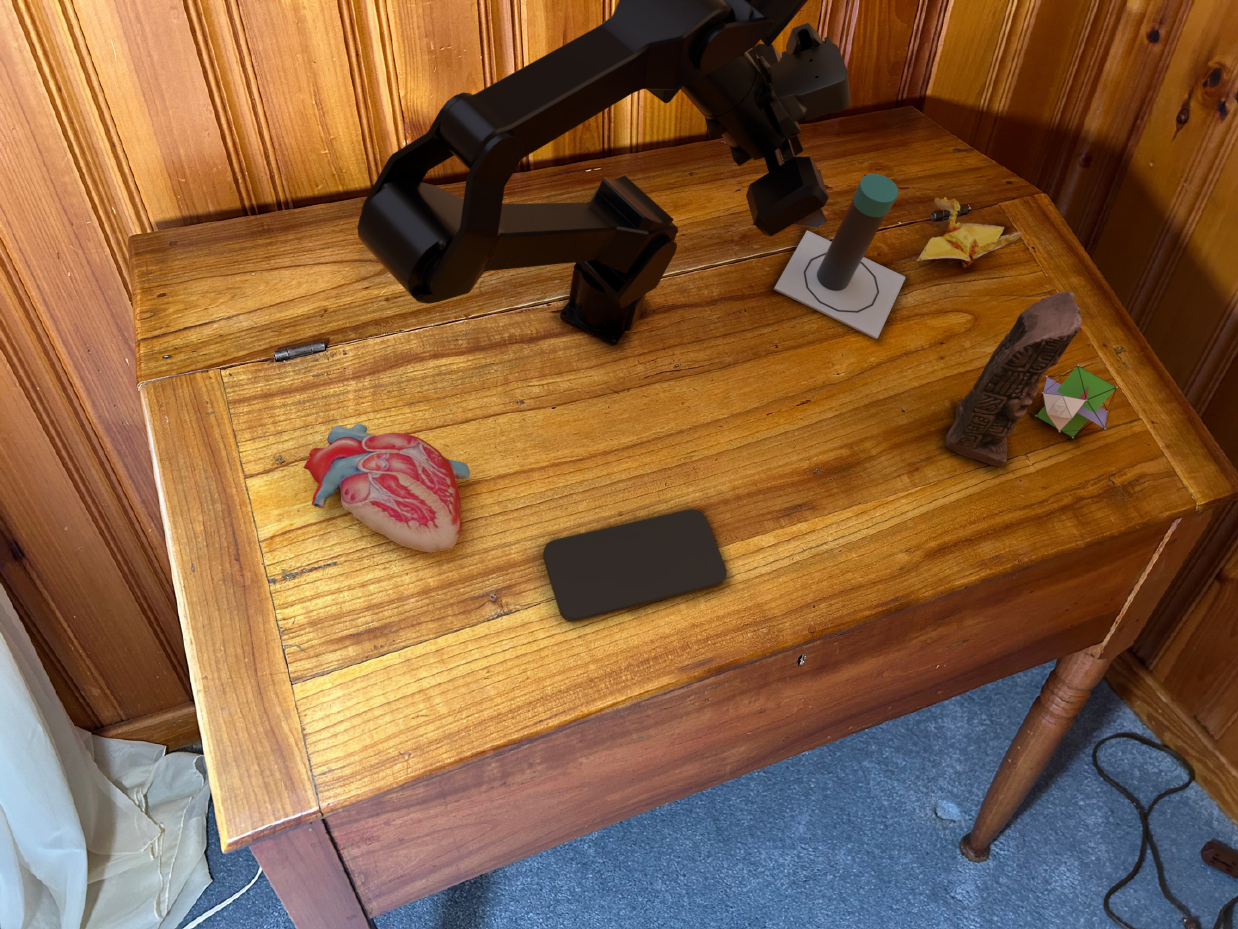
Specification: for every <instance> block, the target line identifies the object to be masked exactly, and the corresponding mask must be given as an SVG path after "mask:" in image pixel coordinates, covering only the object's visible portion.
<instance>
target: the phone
mask: <svg viewBox="0 0 1238 929" xmlns="http://www.w3.org/2000/svg"><path fill="white" fill-rule="evenodd" d="M542 557H543V562H544V565H545V569H546V573H547V575H548V578H549V582H550V585H551V589H552V593H553V596H554V598H555V601H556V605H557V608H558V611H559V613H560V615H561V617H562V618H563V619H565V620H566V621H569V622H579V621H583V620H588V619H591V618H595V617H599V616H603V615H607V614H610V613H615V612H619V611H623V610H627V609H633V608H635V607H640V606H643V605H648V604H652V603H655V602H659V601H664V600H667V599H671V598H676V597H679V596H683V595H687V594H690V593H695V592H699V591H703V590H707V589H711V588H714V587H718V586H719V585H721V584H722V583H724V581H725V579H726V578H727V575H728V574H727V572H728V571H727V567H726V565H725V561H724V560H723V556H722V554H721V552H720V550H719V546H718V544H717V542H716V540H715V536H714V534H713V532H712V529H711V526H710V524H709V522H708V519H707V517H706V516H705V514H704V513H703V512H702V511H700V510H698V509H686V510H680V511H676V512H672V513H667V514H664V515H663V514H662V515H658V516H653V517H650V518H645V519H641V520H637V521H632V522H627V523H623V524H618V525H614V526H610V527H606V528H601V529H600V528H599V529H597V530H596V529H595V530H592V531H588V532H584V533H578V534H574V535H570V536H564V537H561V538H560V537H559V538H556V539H553V540H550V541H549V542H547V543H546V544H545V545H544V547H543V552H542Z"/></svg>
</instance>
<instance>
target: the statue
mask: <svg viewBox="0 0 1238 929" xmlns="http://www.w3.org/2000/svg"><path fill="white" fill-rule="evenodd" d="M1075 300H1076V295H1075V293H1073V292H1071V291H1060V292H1059V291H1058V292H1057V293H1056V292H1055V293H1054V294H1052V295H1050V296H1047V297H1042V298H1041V299H1040V300H1039V301H1038V302H1034V303H1033V304H1032V305H1030V306H1029V307H1027V308H1026V309H1025V310H1023V311H1022V312H1021V313H1019V315H1018V317H1017V319H1016V321H1015V323H1014V324H1013V326H1012V328H1011V329H1010V330H1009V332H1007V333H1006V334H1005V335H1004V337H1003V339H1001V341H1000V343H999V344H998V345H997V347H996V348H995V349H994V350H993V352H992V354H991V356H990V357H989V359H988V361H987V362H986V364H985V366H984V368H983V370H982V372H981V374H980V375H979V376H978V378H977V380H976V381H975V383H974V384H973V387H972V389H971V390H969V391H968V393H967V394H966V395H964V398H963V399H961V400H959V401H957V404H956V409H955V412H954V413H955V421H954V423H953V424H952V426H951V427H950V429H949V431H948V432H947V434H946V436H945V437H944V440H945V448H947V449H949V450H950V451H952V452H954V453H956V454H958V455H961V456H964V457H966V458H969V459H973V460H977V461H979V462H982V463H984V464H988V465H990V466H993V467H1003V466H1005V464H1006V462H1007V459H1008V437H1010V436H1011V434H1012V433H1013V430H1014V429H1015V427H1016V425H1017V423H1018V421H1019V420H1020V419H1022V418H1023V417H1024V416H1025V415H1026V414H1027V410H1028V407H1029V406H1031V405H1032V404H1033V400H1034V398H1035V397H1036V396H1037V394H1038V393H1039V391H1040V385H1039V383H1041V380H1042V379H1043V378H1044V373H1045V374H1046V373H1047V372H1048V371H1049V369H1050V368H1052V367H1054V366H1056V365H1057V364H1058V363H1059V361H1060V359H1061V358H1062V356H1063V355H1064V354H1065V352H1066V350H1067V348H1068V347H1069V346H1070V344H1071V343H1072V341H1073V339H1074V338H1075V337H1077V335H1078V333H1079V332H1080V330H1081V329H1082V328H1081V326H1082V322H1083V318H1082V317H1081V315H1080V314H1081V309H1080V307H1079V306H1078V304H1077V303H1076V302H1075Z"/></svg>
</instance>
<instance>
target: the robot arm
mask: <svg viewBox="0 0 1238 929" xmlns="http://www.w3.org/2000/svg"><path fill="white" fill-rule="evenodd" d="M808 1H809V0H618V1H617V4H616V5H615V8H614V11H613V12H612V15H611V16H610V17H609V18H607V19H606V20H605V21H603V22H602V23H601V24H599V25H597V26H596V27H594V28H592V29H590V30H589V31H587V32H585V33H583V34H581V35H579V36H578V37H575V38H574V39H572V40H570V41H568V42H567V43H565V44H563V45H561V46H560V47H558V48H556V49H554V50H553V51H551V52H548V53H547V54H545V55H543V56H541V57H540V58H538V59H536V60H534V61H532V62H531V63H528V64H527V65H525V66H523V67H521V68H519V69H517V70H516V71H514V72H512V73H511V74H509V75H506V76H505V77H503V78H501V79H499V80H498V81H496V82H494V83H492V84H491V85H488V86H487V87H485V88H483V89H481V90H479V91H477V92H475V93H473V94H472V93H471V92H461V93H457V94H454V96H452V97H451V98H449V99H448V100H447V101H446V102H445V103H444V105H443V106H442V107H441V108H440V109H439V111H438V113H437V115H436V117H435V118H434V120H433V122H432V124H431V125H430V127H429V129H428V131H427V132H426V133H424V134H423V135H421V136H419V137H418V138H416V139H415V140H413V141H411V142H410V143H408V144H406V145H405V146H403V147H402V148H400V149H398V150H397V151H395V152H393V153H392V154H391V155H390V156H389V158H388V159H387V161H386V163H384V166H383V168H382V170H381V172H380V173H379V175H378V176H377V177H376V178H377V179H376V180H375V181H374V184H373V186H372V187H371V189H370V191H369V193H368V195H367V196H366V198H365V199H364V202H363V203H362V207H361V209H360V211H361V212H360V215H359V218H358V221H357V222H358V223H357V227H356V228H357V236H358V239H359V241H360V242H361V243H362V245H363V246H364V247H365V248H366V249H367V250H368V251H369V252H370V253H371V254H372V255H373V256H374V258H375V259H376V260H377V261H378V262H379V263H380V264H381V265H382V266H383V267H384V269H385V270H386V271H387V272H388V273H389V274H390V275H391V276H392V277H393V278H394V279H395V280H396V281H397V282H398V283H399V285H400V286H401V287H403V289H404V290H405V291H406V292H407V293H408V294H409V295H410V296H411V298H413V299H414V300H415V301H416V302H417V303H420V304H425V305H426V304H428V305H431V304H435V303H436V304H437V303H441V302H442V301H443V302H444V301H447V300H450V299H453V298H457V297H461V296H464V295H468V294H470V293H471V291H472V290H473V289H474V288H475V286H476V284H477V283H478V282H479V280H480V279H481V278H482V276H483V274H484V273H486V272H494V271H495V272H496V271H504V270H515V269H523V268H524V269H525V268H535V267H543V266H553V265H564V264H574V265H573V270H572V275H571V283H570V289H569V296H568V300H567V302H566V304H565V306H564V307H563V308H562V310H561V311H560V313H559V318H560V320H561V321H563V322H565V323H567V324H569V325H571V326H573V327H575V328H577V329H579V330H581V331H582V332H584V333H587V334H589V335H590V336H592V337H595V338H596V339H599V340H601V341H602V342H605V343H607V344H609V345H611V346H617V345H618V344H619V343H620V341H621V340H622V338H623V337H624V335H625V334H626V333H628V332H631V331H632V329H633V328H634V327H635V325H636V323H637V322H638V321H639V319H640V318H641V316H642V312H643V308H644V305H645V300H646V297H647V294H649V293H650V292H652V291H654V290H655V289H656V288H657V287H658V285H659V284H660V282H661V280H662V278H663V276H664V275H665V272H667V269H668V267H669V265H670V263H671V261H672V259H673V258H674V256H675V254H676V252H677V248H678V244H677V242H676V238H677V234H678V233H679V227H678V226H676V224H675V223H674V218H673V217H672V216H671V215H670V214H669V213H668V212H666V211H665V210H664V209H663V208H662V207H661V206H660V205H659V204H657V202H655V201H654V199H652V198H651V197H650V196H649V195H648V194H647V193H646V192H644V191H643V190H642V189H641V188H640V187H639V186H638V185H637V184H636V183H635V182H633V180H631V178H629V177H628V176H627V175H622V176H620V177H617V178H611V177H609V176H603V177H602V179H601V182H600V183H599V186H597V187H596V188H595V189H594V191H593V193H592V194H591V196H590V198H589V200H588V201H586V202H585V201H584V202H539V203H537V202H536V203H535V202H534V203H533V202H532V203H503V202H504V194H505V187H506V185H507V184H508V182H509V181H510V179H511V177H512V176H513V174H514V173H515V171H516V169H517V168H518V166H519V164H520V163H521V160H522V159H525V158H526V157H527V156H530V155H531V154H533V153H534V152H536V151H538V150H539V149H541V148H543V147H544V146H546V145H548V144H550V143H551V142H553V141H555V140H557V139H558V138H560V137H561V136H564V135H565V134H566V133H568V132H570V131H571V130H573V129H575V128H577V127H578V126H580V125H581V124H583V123H585V122H587V121H589V120H590V119H592V118H593V117H595V116H597V115H599V114H600V113H602V112H604V111H605V110H607V109H609V108H610V107H612V106H614V105H616V104H617V103H618V102H621V101H622V100H624V99H626V98H627V97H629V96H631V95H632V94H634V93H636V92H639V91H642V90H646V91H648V92H649V93H650V94H651V95H653V96H655V97H656V98H657V99H658V100H660V101H661V102H662V103H663V104H669V103H670V102H671V101H673V99H674V97H675V96H676V95H677V94H678V93H679V91H681V92H682V93H683V94H684V95H685V97H686V98H687V99H688V100H689V101H690V102H691V103H692V105H693V106H695V108H696V109H697V110H698V111H699V112H700V113H701V114H702V115H703V117H704V120H705V124H706V128H707V132H708V134H709V135H710V136H711V137H712V139H714V140H716V139H718V138H720V137H722V138H723V140H725V141H726V143H727V144H728V146H729V149H730V153H731V157H732V160H733V161H734V163H735V164H736V165H737V166H738V167H742V165H744V164H746V163H747V162H749V161H750V160H752V161H757V160H761V159H764V162H765V165H766V168H767V171H768V172H767V173H766V174H763V175H762V176H761V177H759V178H757V179H755V180H754V181H753V182H751V183H750V184H749V185H748V188H747V191H746V194H745V197H746V201H747V205H748V208H749V212H750V216H751V219H752V223H753V226H755V227H756V228H757V229H758V230H759V232H761V233H762V234H763V236H766V237H771V238H772V237H774V236H775V235H777V234H779V233H780V232H782V231H784V230H786V229H787V228H789V227H791V226H793V225H795V226H801V227H808V228H819V227H821V226H823V225H824V224H826V223H827V222H828V220H827V218H826V215H825V213H824V211H823V209H822V208H824V207H825V206H826V204H827V203H828V201H829V199H830V197H829V196H830V195H829V193H828V190H827V187H826V184H825V181H824V178H823V175H822V172H821V169H819V168H818V166H817V164H816V162H815V161H814V160H813V158H811V156H799V155H800V154H801V153H803V152H804V147H803V145H802V142H801V140H800V137H799V135H800V134H801V133H802V129H801V126H800V124H799V122H808V121H810V120H813V119H817V118H819V117H822V116H825V115H828V114H832V113H836V114H837V113H840V112H842V111H843V112H844V111H845V110H847V109H848V107H850V104H851V93H850V83H849V72H848V68H847V66H846V63H845V60H844V58H843V56H842V53H841V50H840V48H839V46H838V45H837V44H836V43H833V41H832V40H831V39H830V36H829V35H828V36H825V37H824V38H823V39H822V38H821V36H820V34H819V32H817V30H816V29H815V28H814V27H813V26H812V25H811V24H810V23H809V22H805V23H802V24H800V25H797V26H794V27H793V28H792V29H791V31H790V34H789V36H788V40H787V42H786V45H785V50H784V51H782V52H781V54H780V53H779V51H778V50H777V49H776V46H774V44H773V43H774V42H775V41H776V39H777V38H778V37H779V36H780V35H781V33H782V32H783V31H784V30H785V29H786V28H787V26H788V25H789V24H790V23H791V21H792V20H793V19H794V18H795V17H796V16H797V14H798V13H799V12H800V11H801V10H802V9H803V7H804V6H805V5H806V4H807V2H808ZM760 41H761V42H762V43H759V42H760ZM452 157H455V158H456V159H457V160H459V161H460V163H461V164H462V165H463V166H465V167H466V168H467V169H468V172H467V176H466V179H465V185H464V186H465V187H464V194H463V198H462V197H459V196H458V195H455V194H453V193H452V192H449V191H447V190H445V189H443V188H441V187H439V186H437V185H434V184H430V183H426V182H423V180H424V179H425V177H426V175H427V173H428V172H429V171H430V170H432V169H434V168H436V167H437V166H439V165H441V164H442V163H444V162H446V161H448V160H449V159H451V158H452Z"/></svg>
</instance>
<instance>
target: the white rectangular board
mask: <svg viewBox="0 0 1238 929" xmlns="http://www.w3.org/2000/svg"><path fill="white" fill-rule="evenodd" d="M831 243H832V241H831V240H828V239H827V238H824V237H822V236H820V235H818V234H816V233H814V232H812V231H810V230H806V231H805V234H803V237H802V238H801V239H800V242H799V243H798V246H797V247H796V249H795V250H794V252H793V254H792V256H791V258H790V259H789V261H788V263H787V264H786V266H785V268H784V270H783V271H782V274H781V275H780V277H779V278H778V280H777V282H776V284H775V286H774V288H773V290H774V291H775V292H777V293H780V294H781V295H784V296H786V297H788V298H790V299H792V300H794V301H796V302H798V303H801V304H803V305H804V306H806V307H809V308H810V309H813V310H815V311H817V312H819V313H821V314H823V315H825V316H827V317H828V318H831V319H834V320H836V321H838V322H839V323H841V324H844V325H846V326H848V327H850V328H852V329H854V330H856V331H858V332H860V333H862V334H865V335H867V336H868V337H871V338H873V339H874V340H878V338H879V337H880V334H881V332H882V330H883V328H884V326H885V324H886V321H887V319H888V317H889V315H890V312H891V310H892V308H893V306H894V304H895V302H896V300H897V297H898V295H899V293H900V291H901V288H902V286H903V284H904V282H905V280H906V276H905V275H902V274H900V273H898V272H896V271H894V270H891V269H890V268H887V267H885V266H884V265H881V264H879V263H877V262H875V261H873V260H871V259H869V258H867V257H865V256H864V257H863V258H862V260H861V262H860V264H859V266H858V268H857V269H856V271H855V273H854V275H853V277H852V279H851V280H850V282H849V284H848V286H847V287H846V288H845V289H843V290H840V291H833V290H829V289H827V288H825V287H824V286H822V285H821V284H820V282H819V281H818V279H817V271H818V269H819V267H820V265H821V263H822V261H823V259H824V257H825V255H826V253H827V251H828V249H829V247H830V245H831Z"/></svg>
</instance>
